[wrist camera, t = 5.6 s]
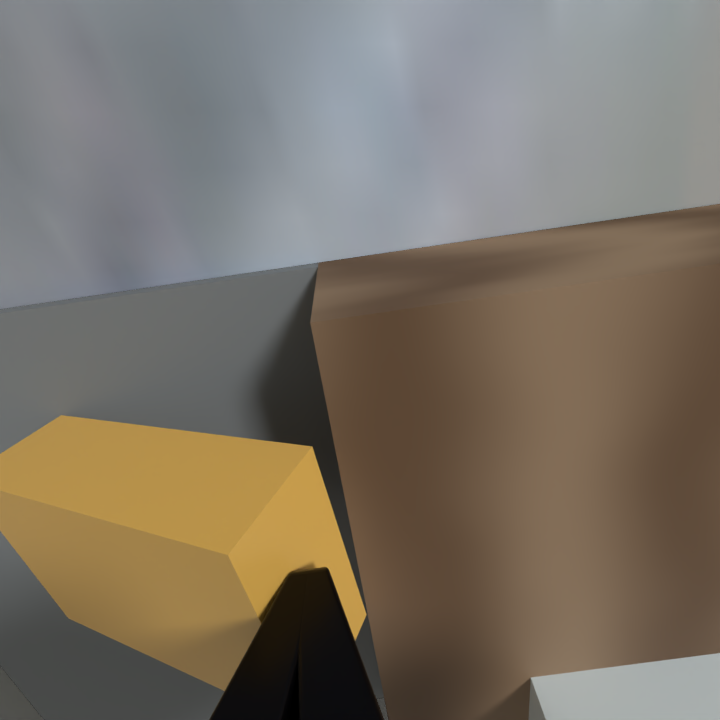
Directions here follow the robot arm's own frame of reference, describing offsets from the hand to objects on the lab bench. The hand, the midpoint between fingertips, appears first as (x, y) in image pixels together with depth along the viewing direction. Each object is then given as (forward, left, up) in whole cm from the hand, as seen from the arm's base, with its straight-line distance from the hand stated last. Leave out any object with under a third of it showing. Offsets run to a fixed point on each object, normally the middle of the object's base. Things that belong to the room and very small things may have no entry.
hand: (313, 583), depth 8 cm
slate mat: (+1, +8, -5) cm, 9 cm away
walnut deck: (-9, -3, -5) cm, 11 cm away
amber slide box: (+2, +3, -3) cm, 5 cm away
